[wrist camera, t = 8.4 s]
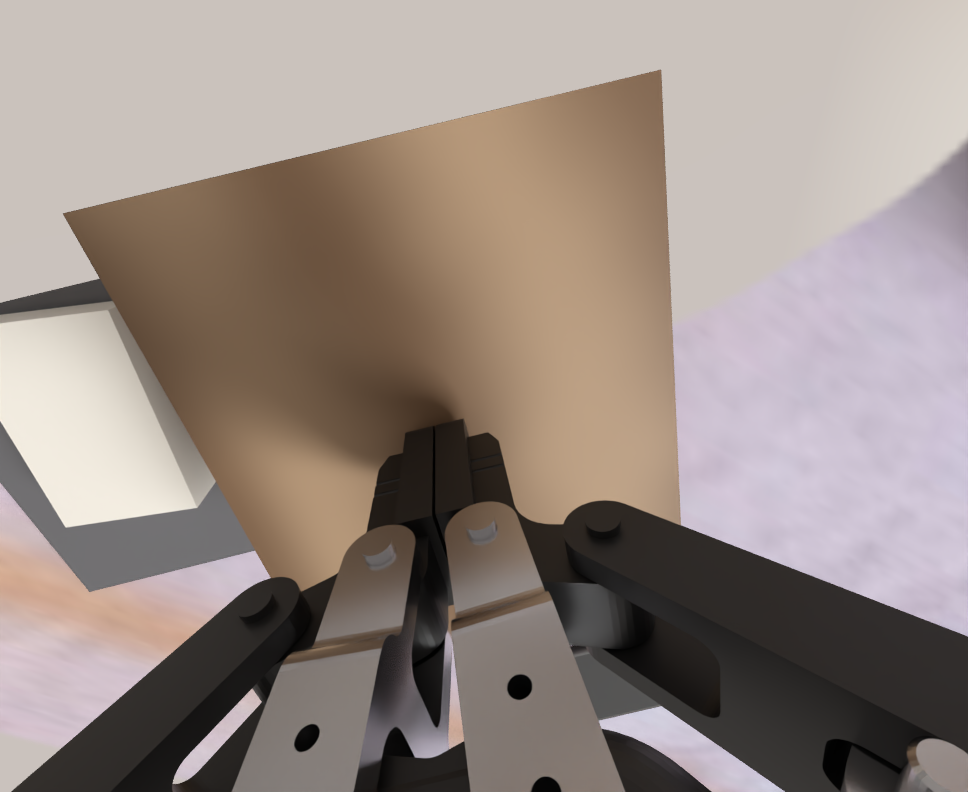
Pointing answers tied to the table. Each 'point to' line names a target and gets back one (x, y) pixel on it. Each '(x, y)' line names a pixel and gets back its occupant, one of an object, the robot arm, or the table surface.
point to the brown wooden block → (415, 314)
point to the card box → (94, 417)
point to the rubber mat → (126, 542)
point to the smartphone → (609, 688)
